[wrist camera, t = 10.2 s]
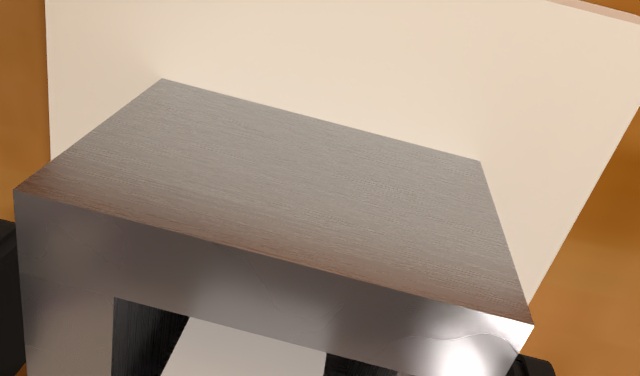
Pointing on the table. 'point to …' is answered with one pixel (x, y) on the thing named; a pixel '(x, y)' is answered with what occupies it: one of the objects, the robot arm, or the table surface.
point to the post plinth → (373, 102)
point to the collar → (262, 244)
